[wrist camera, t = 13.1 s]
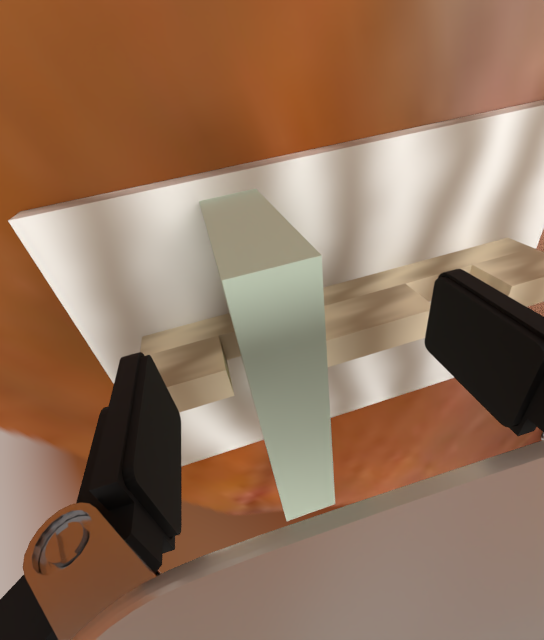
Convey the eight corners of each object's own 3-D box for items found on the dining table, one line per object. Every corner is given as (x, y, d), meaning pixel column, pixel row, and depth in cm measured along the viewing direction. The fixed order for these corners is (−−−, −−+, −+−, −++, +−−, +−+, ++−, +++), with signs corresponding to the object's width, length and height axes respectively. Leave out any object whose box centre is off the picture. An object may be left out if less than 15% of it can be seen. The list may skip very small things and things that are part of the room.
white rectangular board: (567, 94, 20) (709, 92, 14) (481, 355, 33) (539, 403, 27) (20, 211, 16) (-54, 265, 11) (169, 454, 29) (169, 532, 24)
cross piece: (198, 201, 16) (221, 280, 9) (255, 188, 17) (321, 255, 9) (254, 403, 26) (286, 521, 18) (289, 392, 26) (335, 503, 19)
